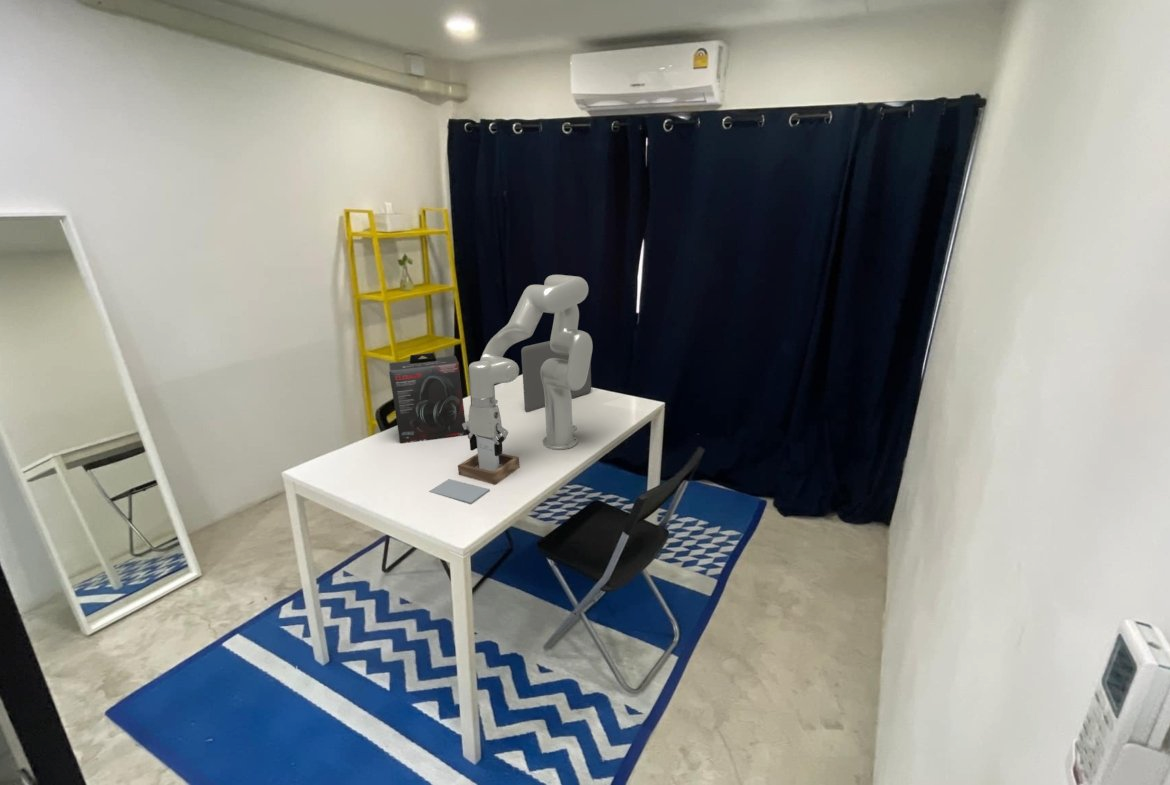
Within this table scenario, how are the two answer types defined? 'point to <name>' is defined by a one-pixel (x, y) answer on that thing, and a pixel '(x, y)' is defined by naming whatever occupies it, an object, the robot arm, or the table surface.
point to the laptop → (532, 377)
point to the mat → (460, 491)
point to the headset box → (427, 398)
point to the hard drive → (487, 454)
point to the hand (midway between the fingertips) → (486, 451)
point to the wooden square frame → (488, 476)
